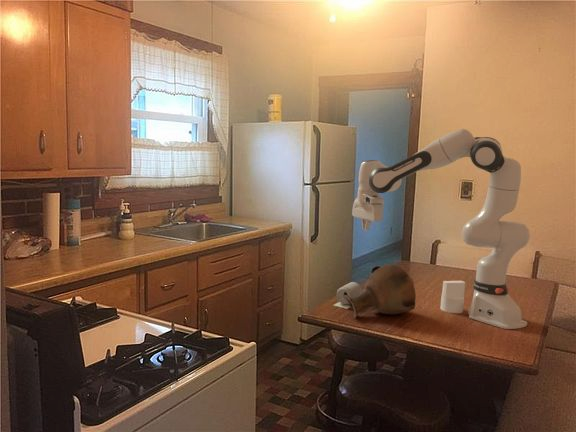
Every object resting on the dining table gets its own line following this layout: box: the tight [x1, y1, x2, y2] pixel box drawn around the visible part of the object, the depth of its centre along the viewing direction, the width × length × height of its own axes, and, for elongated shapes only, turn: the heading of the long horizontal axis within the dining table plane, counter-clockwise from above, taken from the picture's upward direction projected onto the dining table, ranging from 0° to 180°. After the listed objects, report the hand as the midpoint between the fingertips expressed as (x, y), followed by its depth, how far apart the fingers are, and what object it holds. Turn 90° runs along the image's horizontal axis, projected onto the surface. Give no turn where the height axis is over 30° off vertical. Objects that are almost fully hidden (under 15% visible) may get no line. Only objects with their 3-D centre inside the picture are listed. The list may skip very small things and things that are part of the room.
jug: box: [344, 263, 417, 319], centre depth 198 cm, size 20×20×30 cm
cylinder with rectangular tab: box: [440, 280, 466, 314], centre depth 208 cm, size 9×9×12 cm
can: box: [336, 281, 363, 304], centre depth 211 cm, size 8×8×12 cm
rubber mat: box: [332, 301, 352, 310], centre depth 209 cm, size 12×6×1 cm, turn 149°
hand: (365, 229), depth 217 cm, fingers closed
